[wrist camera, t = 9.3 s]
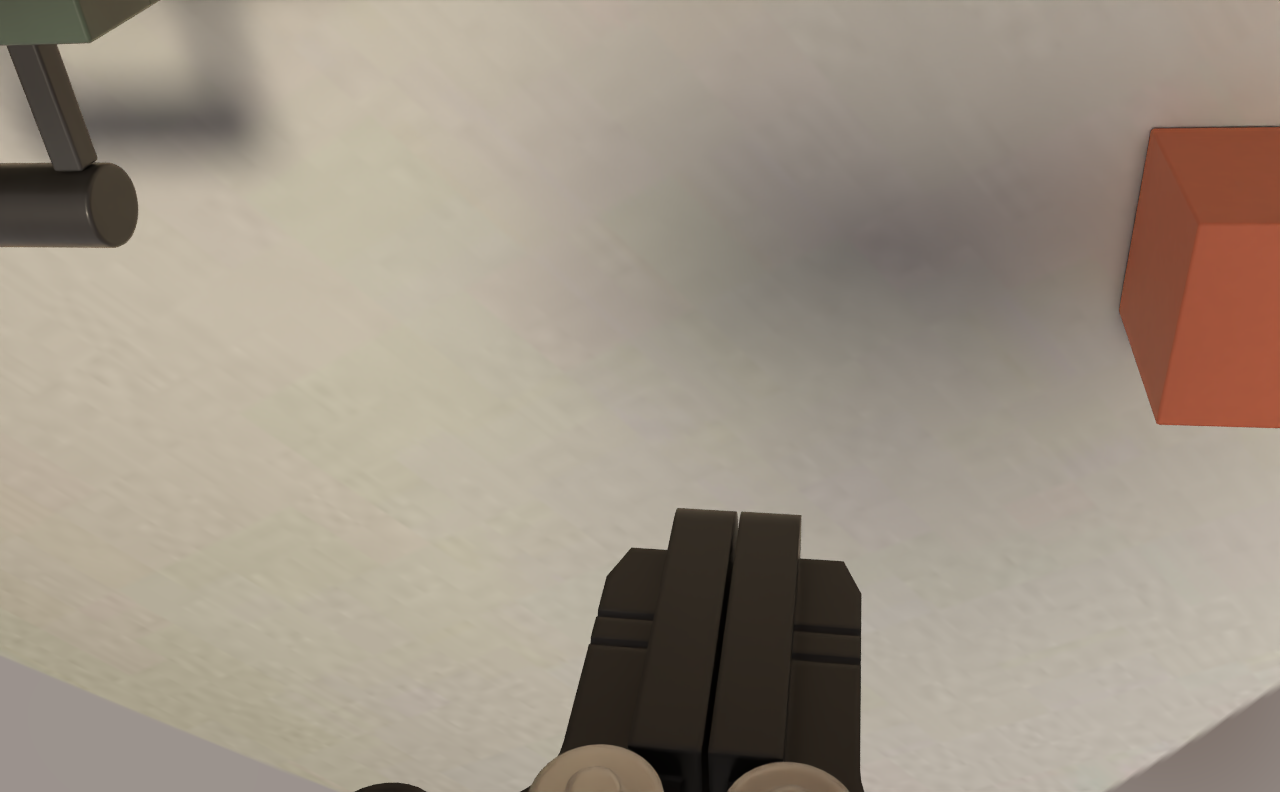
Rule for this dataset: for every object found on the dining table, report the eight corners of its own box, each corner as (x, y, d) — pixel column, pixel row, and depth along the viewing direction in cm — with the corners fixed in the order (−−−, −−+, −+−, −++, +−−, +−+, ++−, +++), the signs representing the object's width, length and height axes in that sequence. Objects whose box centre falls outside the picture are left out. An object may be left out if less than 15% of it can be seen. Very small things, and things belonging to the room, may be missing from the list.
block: (1384, 124, 23) (1475, 224, 20) (1328, 314, 26) (1401, 433, 22) (1150, 127, 24) (1199, 223, 21) (1117, 311, 27) (1155, 425, 23)
